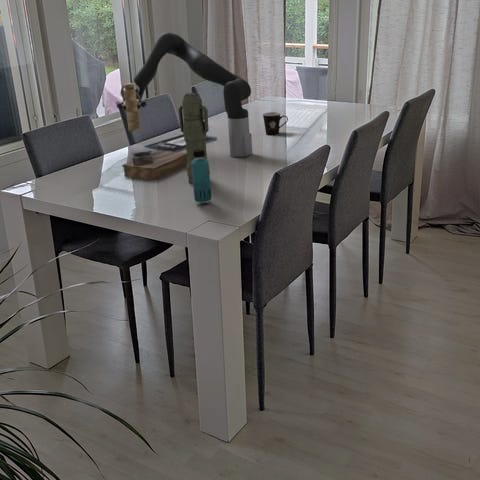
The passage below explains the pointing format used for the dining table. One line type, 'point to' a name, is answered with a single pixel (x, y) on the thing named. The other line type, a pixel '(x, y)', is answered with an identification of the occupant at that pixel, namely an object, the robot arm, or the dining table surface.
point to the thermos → (193, 127)
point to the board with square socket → (154, 164)
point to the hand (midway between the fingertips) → (131, 107)
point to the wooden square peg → (131, 107)
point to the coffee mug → (272, 122)
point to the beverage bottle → (201, 177)
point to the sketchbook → (174, 143)
